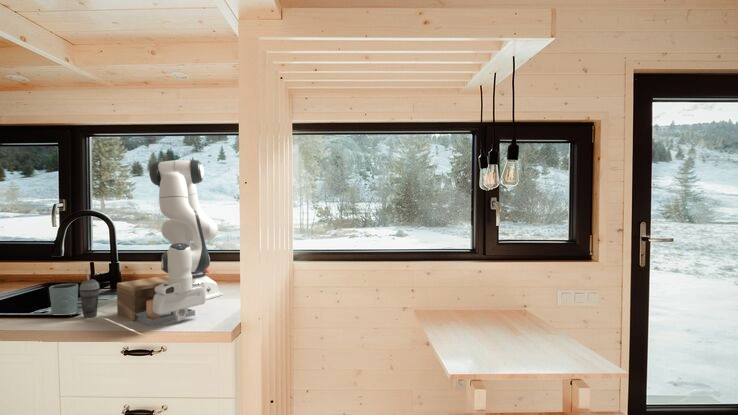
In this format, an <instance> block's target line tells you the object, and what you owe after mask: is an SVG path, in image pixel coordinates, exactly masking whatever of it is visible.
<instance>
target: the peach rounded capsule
mask: <svg viewBox="0 0 738 415" xmlns="http://www.w3.org/2000/svg"><path fill="white" fill-rule="evenodd" d="M145 311H146V318H149V319H152V320H154V319H159V318H160V314H156V313H154V312H153V299H150V300H147V301H146V310H145Z"/></svg>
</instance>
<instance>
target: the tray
mask: <svg viewBox="0 0 738 415" xmlns="http://www.w3.org/2000/svg"><path fill="white" fill-rule="evenodd" d="M181 314H182V313H180V314H179V315H181ZM194 316H196V310H195V309H192V308H190V307H189V308H188V311H187V313H186V315H185V319H186V318H190V317H194ZM135 321H138V322H139V323H143V324H146V325H147V326H151V327H153V326H157V325H162V324H165V323H170V322H172V321H176V316H175V315H171V312H167V313H163V314H160V318H159V319H154V320H152V319H149V318H146V310H144V311H139V312H135Z"/></svg>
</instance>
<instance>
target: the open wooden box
mask: <svg viewBox="0 0 738 415" xmlns="http://www.w3.org/2000/svg"><path fill="white" fill-rule="evenodd" d="M168 275H169V274H167V275H162V276H161V275H160V276H153V277H149V278H140V279H135V280H130V281H123V282H122V281H121V282H117V283H116V306H117V308H116V310H117V314H116V316H118V317H120V318H123V319H125V320H126V321H127V320H128V321H130V322H135V321H136V320H135V313H139V312H143V311H146V301H147V300H150V299H153V298H154V296H155V294H156V292H155V287H157V286H159V285H161V284H163V283H165V282H167V281H168Z"/></svg>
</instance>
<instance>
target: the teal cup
mask: <svg viewBox="0 0 738 415" xmlns="http://www.w3.org/2000/svg"><path fill="white" fill-rule="evenodd" d="M48 290H49V291H48V292H49V299H50V308H51V315H52V314H70V313H74V312H77V313H78V299H79V298H78V296H79V284H78V283H61V284H55V285H51V286H49V287H48Z"/></svg>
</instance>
